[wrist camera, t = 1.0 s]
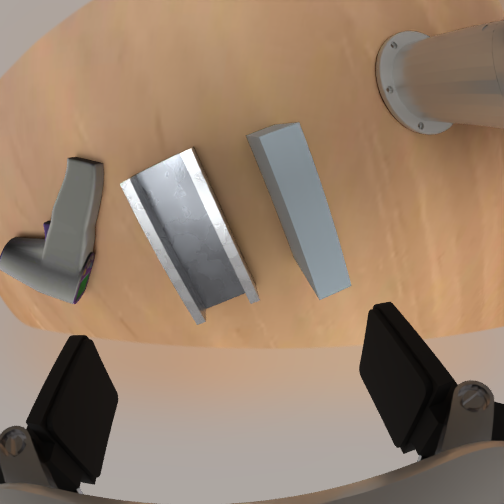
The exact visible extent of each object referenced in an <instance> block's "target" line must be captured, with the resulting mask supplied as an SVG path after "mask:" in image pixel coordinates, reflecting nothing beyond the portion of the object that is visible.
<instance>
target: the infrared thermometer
mask: <svg viewBox="0 0 504 504" xmlns="http://www.w3.org/2000/svg"><path fill="white" fill-rule="evenodd" d="M103 182H104V168H103V163H100V162H96V161H91V160H87V159H83V158H78V157H71V158H68V159H67V170H66V174H65V178H64V181H63V184H62V186H61V189H60V191H59V194H58V196H57V199H56V202H55V204H54V207H53V211H52V217H51V221H47V222H45V223H44V224H43V225H44V231H45V239H36V238H21V237H15V238H13V239H11V240H10V241H9V242H8V243H7V244H6V246H5V247H4V249H3V251H2V253H1V256H0V270H1V271H3V272H5V273H7V274H8V275H10V276H12V277H13V278H15V279H17V280H19V281H20V282H22V283H24V284H26V285H28V286H29V287H31V288H33V289H35V290H37V291H38V292H40V293H43V294H46V295H48V296H51V297H54V298H57V299H60V300H63V301H66V302H68V303H71V304H73V303H74V304H76V303H77V302H78V301H79V299H80V298H81V297H82V295H83V293H84V291H85V289H86V286H87V283H88V279H89V276H90V272H91V269H92V266H93V262H94V253H93V246H94V241H95V223H96V220H97V216H98V211H99V207H100V202H101V197H102V190H103Z"/></svg>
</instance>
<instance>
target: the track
mask: <svg viewBox="0 0 504 504" xmlns="http://www.w3.org/2000/svg"><path fill="white" fill-rule="evenodd" d="M120 185H121V187H122V189H123V191H124V193H125V195H126V197H127V199H128V201H129V203H130V205H131V207H132V209H133V211H134V213H135V215H136V217H137V219H138V221H139V223H140V225H141V227H142V229H143V231H144V233H145V234H146V236H147V238H148V240H149V242H150V244H151V246H152V248H153V249H154V251H155V253H156V255H157V257H158V259H159V260H160V262H161V264H162V266H163V268H164V269H165V271H166V273H167V275H168V276H169V278H170V280H171V282H172V283H173V285H174V287H175V289H176V290H177V292H178V294H179V295H180V297H181V299H182V301H183V302H184V304H185V306H186V307H187V309H188V311H189V312H190V314H191V316H192V317H193V319H194V320H195V322H196V324H197V325H198V324H201V323H203V322H206V309H207V308H209V307H212V306H214V305H217V304H219V303H222V302H224V301H227V300H229V299H232V298H234V297H237V296H239V295H241V294H244V293H246V295H247V297H248V299H249V301H250V303H251V304H252V303H254V302H257V301H259V300H260V299H259V295H258V291H257V288H256V284H255V282H254V280H253V278H252V275H251V273H250V271H249V269H248V267H247V265H246V262H245V260H244V258H243V256H242V254H241V251H240V249H239V247H238V245H237V243H236V240H235V238H234V236H233V234H232V232H231V229H230V227H229V225H228V223H227V220H226V218H225V216H224V214H223V212H222V209H221V207H220V205H219V203H218V200H217V198H216V196H215V194H214V192H213V189H212V187H211V185H210V183H209V180H208V178H207V176H206V174H205V171H204V169H203V167H202V165H201V163H200V160H199V158H198V156H197V154H196V151H195V149H194V147H192V148H190V149H188V150H185V151H183V152H181V153H179V154H177V155H175V156H173V157H170V158H168V159H166V160H164V161H162V162H160V163H158V164H156V165H154V166H152V167H150V168H148V169H146V170H144V171H142V172H140V173H138V174H136V175H135V176H133V177H131V178H129V179H127V180H126V181H124V182H122V183H121V184H120Z"/></svg>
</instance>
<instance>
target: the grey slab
mask: <svg viewBox="0 0 504 504" xmlns="http://www.w3.org/2000/svg"><path fill="white" fill-rule="evenodd" d="M246 137H247V140H248V142H249V144H250V147H251V149H252V152H253V154H254V156H255V159H256V161H257V164H258V166H259V169H260V171H261V174H262V176H263V179H264V181H265V184H266V186H267V189H268V191H269V194H270V196H271V199H272V201H273V204H274V206H275V209H276V212H277V214H278V217H279V219H280V222H281V224H282V227H283V230H284V232H285V235H286V238H287V240H288V243H289V245H290V248H291V251H292V253H293V256H294V259H295V260H296V262H297V264H298V265H299V267H300V268H301V270H302V272H303V273H304V275H305V277H306V278H307V280H308V282H309V283H310V285H311V287H312V288H313V290H314V292H315V293H316V295H317V297H318V298H319V300H321V299H323V298H325V297H328V296H330V295H332V294H334V293H337V292H339V291H341V290H343V289H345V288H348V287H350V286H351V282H350V279H349V275H348V271H347V267H346V264H345V260H344V257H343V253H342V250H341V246H340V243H339V239H338V236H337V232H336V229H335V226H334V222H333V219H332V216H331V213H330V210H329V206H328V203H327V200H326V197H325V194H324V191H323V188H322V185H321V182H320V179H319V176H318V173H317V170H316V167H315V164H314V162H313V159H312V156H311V153H310V150H309V148H308V145H307V142H306V139H305V137H304V134H303V131H302V129H301V126H300V124H299V122H297V123H286V124H276V125H272V126H270V127H267V128H264V129H262V130H259V131H257V132H254V133H251V134H249V135H246Z"/></svg>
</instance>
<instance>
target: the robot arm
mask: <svg viewBox="0 0 504 504" xmlns="http://www.w3.org/2000/svg"><path fill="white" fill-rule="evenodd" d="M376 77H377V83H378V87H379V90H380V93H381V96H382V98H383V100H384V102H385V104H386V106H387V107H388V109H389V111H390V112H391V114H392V115H393V116H394V117H395V118H396V119H397V120H398V121H399V122H400V123H401V124H402V125H404V126H405V127H406V128H408V129H410V130H412V131H414V132H417V133H421V134H428V135H432V134H439V133H442V132H444V131H446V130H447V129H449V128H450V127H451V126H452V125H453V124H454V123H458V124H469V125H478V126H486V127H494V128H501V129H504V20H501V21H496V22H491V23H485V24H481V25H476V26H471V27H467V28H463V29H459V30H455V31H451V32H447V33H443V34H440V35H436V36H433V37H430V36H428V35H425V34H423V33H420V32H416V31H404V32H400V33H397V34H395V35H393V36H391V37H390V38H389V39H387V40H386V41H385V43H384V44H383V45H382V46H381V49H380V51H379V53H378V57H377V62H376ZM386 89H387V90H386ZM359 371H360V375H361V378H362V380H363V382H364V384H365V385H366V388H367V389H368V392H369V394H370V395H371V398H372V400H373V402H374V403H375V406H376V408H377V410H378V412H379V414H380V416H381V418H382V420H383V422H384V424H385V426H386V428H387V430H388V432H389V434H390V436H391V438H392V440H393V443H394V445H395V446H396V447H397V448H399V447H400V448H401V450H402V452H403V454H405V453H407V452H410V451H412V450H415V449H416V451H417V453H418V455H419V457H418V460H417V462H416V463H413V464H411V465H408V466H405V467H402V468H400V469H397V470H394V471H391V472H388V473H385V474H382V475H379V476H375V477H372V478H369V479H366V480H362V481H359V482H355V483H352V484H348V485H345V486H340V487H337V488H332V489H328V490H324V491H319V492H315V493H309V494H304V495H299V496H294V497H287V498H280V499H273V500H266V501H256V502H246V503H235V504H504V404H501V403H497V402H494V396H493V394H492V392H491V390H490V389H489V388H488V387H487V386H486V385H484V384H483V383H481V382H478V381H465V382H462V383H460V384H459V385H457V383H456V382H455V381H454V379H453V378H452V376H451V375H450V374H449V372H448V371H447V370H446V368H445V367H444V366H443V365H442V363H441V362H440V361H439V359H438V358H437V357H436V356H435V354H434V353H433V352H432V351H431V349H430V348H429V347H428V346H427V344H426V343H425V342H424V341H423V339H422V338H421V337H420V336H419V334H418V333H417V332H416V331H415V330H414V328H413V327H412V326H411V325H410V323H409V322H408V321H407V320H406V319H405V318H404V316H403V315H402V314H401V313H400V312H399V310H398V309H397V308H396V307H395V306H394V305H393V303H391V302H386V303H380V304H376V305H374V307H373V309H372V310H370V311H369V313H368V320H367V326H366V333H365V339H364V345H363V350H362V356H361V361H360V367H359ZM117 403H118V394H117V391H116V389H115V387H114V386H113V383H112V381H111V379H110V378H109V375H108V373H107V371H106V369H105V367H104V365H103V363H102V361H101V359H100V356H99V354H98V352H97V349H96V347H95V345H94V343H93V341H92V340H91V339H89V338H88V337H87V336H86V335H72V336H70V337H69V339H68V340H67V342H66V344H65V345H64V347H63V349H62V351H61V353H60V354H59V356H58V358H57V360H56V362H55V364H54V365H53V367H52V369H51V371H50V373H49V375H48V377H47V379H46V381H45V383H44V385H43V387H42V389H41V391H40V393H39V395H38V397H37V399H36V401H35V403H34V405H33V407H32V409H31V412H30V414H29V416H28V418H27V420H26V423H27V425H28V426H27V429H25V428H24V427H21V426H12V427H9V428H7V429H5V430H4V431H3V432H2V433H1V434H0V504H153V503H141V502H131V501H123V500H115V499H109V498H102V497H96V496H90V495H84V494H83V492H82V491H81V489H80V482H83V483H89V484H95V481H96V477H99V476H100V474H101V469H102V465H103V460H104V455H105V451H106V447H107V442H108V438H109V434H110V430H111V426H112V422H113V418H114V415H115V410H116V407H117ZM154 504H155V503H154ZM233 504H234V503H233Z"/></svg>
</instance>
